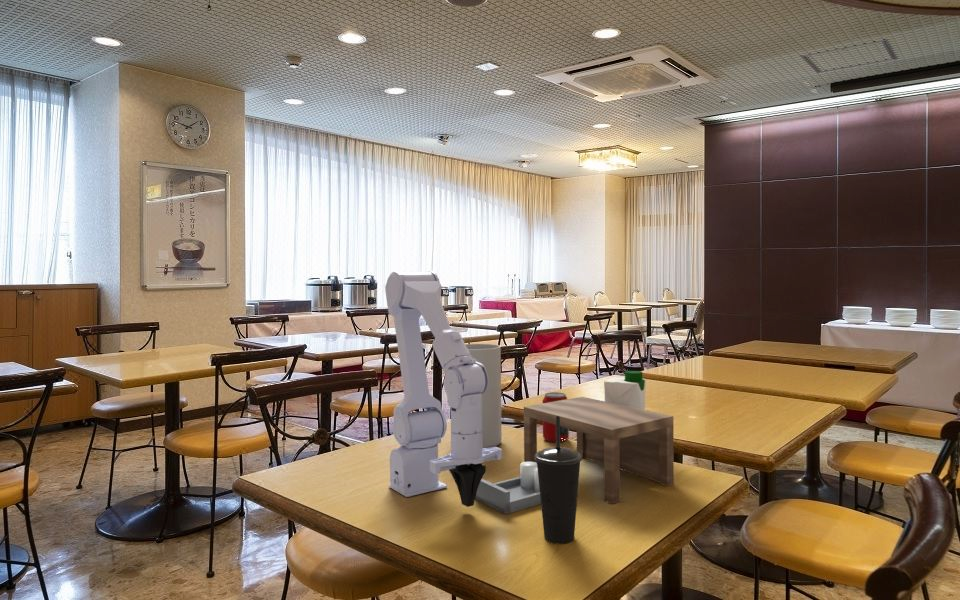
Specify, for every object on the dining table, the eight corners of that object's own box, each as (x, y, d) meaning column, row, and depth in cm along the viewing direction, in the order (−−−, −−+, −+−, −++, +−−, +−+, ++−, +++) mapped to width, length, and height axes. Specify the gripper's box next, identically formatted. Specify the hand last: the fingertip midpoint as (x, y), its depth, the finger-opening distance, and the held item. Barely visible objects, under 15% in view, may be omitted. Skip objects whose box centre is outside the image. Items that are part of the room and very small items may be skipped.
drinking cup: (551, 524, 106) (550, 409, 105) (591, 535, 101) (590, 415, 100) (526, 539, 100) (525, 417, 99) (566, 552, 95) (565, 424, 95)
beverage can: (570, 443, 157) (570, 396, 157) (543, 443, 157) (543, 396, 157) (567, 436, 164) (566, 391, 163) (541, 436, 164) (541, 391, 163)
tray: (505, 514, 111) (505, 485, 111) (474, 498, 119) (473, 471, 119) (570, 495, 120) (570, 468, 120) (537, 481, 128) (537, 457, 128)
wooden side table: (612, 503, 115) (611, 429, 115) (524, 469, 136) (523, 406, 136) (673, 484, 125) (673, 416, 125) (582, 454, 147) (582, 396, 146)
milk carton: (638, 462, 140) (638, 375, 140) (600, 456, 145) (599, 372, 144) (649, 452, 148) (648, 370, 147) (612, 447, 153) (612, 367, 152)
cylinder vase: (480, 434, 167) (479, 342, 166) (511, 443, 158) (510, 346, 157) (443, 442, 159) (441, 346, 158) (473, 453, 150) (472, 350, 149)
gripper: (444, 441, 104) (445, 521, 105) (511, 428, 112) (512, 502, 113) (423, 433, 110) (424, 508, 110) (489, 421, 118) (490, 491, 119)
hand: (467, 504), depth 112 cm, fingers closed
